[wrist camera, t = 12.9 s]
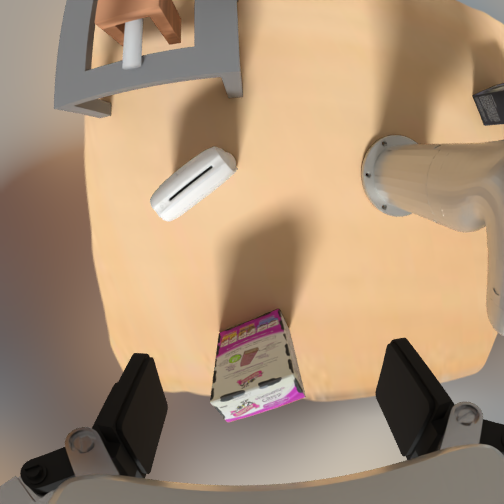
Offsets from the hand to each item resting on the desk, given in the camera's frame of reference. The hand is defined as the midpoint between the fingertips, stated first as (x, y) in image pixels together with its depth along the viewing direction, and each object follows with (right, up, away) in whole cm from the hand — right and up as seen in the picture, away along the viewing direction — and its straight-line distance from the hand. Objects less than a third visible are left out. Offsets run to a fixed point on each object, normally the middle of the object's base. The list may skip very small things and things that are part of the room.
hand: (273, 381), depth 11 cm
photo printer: (-7, +15, +30) cm, 35 cm away
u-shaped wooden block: (-13, +33, +19) cm, 41 cm away
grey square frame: (-13, +35, +24) cm, 45 cm away
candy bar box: (0, -8, +38) cm, 39 cm away
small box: (+45, +33, +25) cm, 61 cm away
